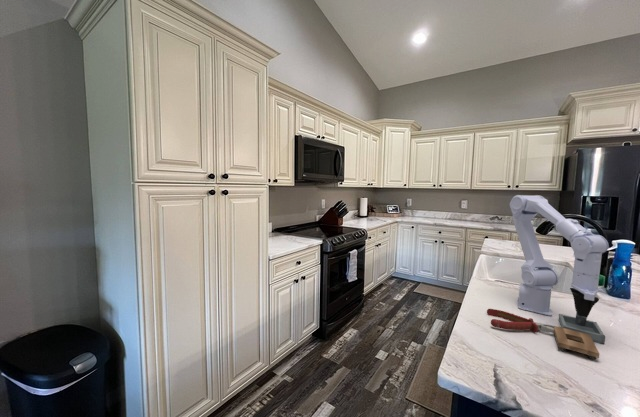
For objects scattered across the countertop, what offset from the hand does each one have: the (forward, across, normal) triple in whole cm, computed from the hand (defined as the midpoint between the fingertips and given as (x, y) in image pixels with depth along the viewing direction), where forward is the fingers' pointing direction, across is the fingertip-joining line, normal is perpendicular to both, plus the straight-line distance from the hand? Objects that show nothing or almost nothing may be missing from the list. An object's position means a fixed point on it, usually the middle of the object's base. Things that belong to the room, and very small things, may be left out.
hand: (581, 314), depth 82 cm
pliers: (+6, -10, +15) cm, 19 cm away
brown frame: (+6, -12, +3) cm, 14 cm away
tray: (+6, 0, 0) cm, 6 cm away
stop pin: (+3, 0, 0) cm, 3 cm away
